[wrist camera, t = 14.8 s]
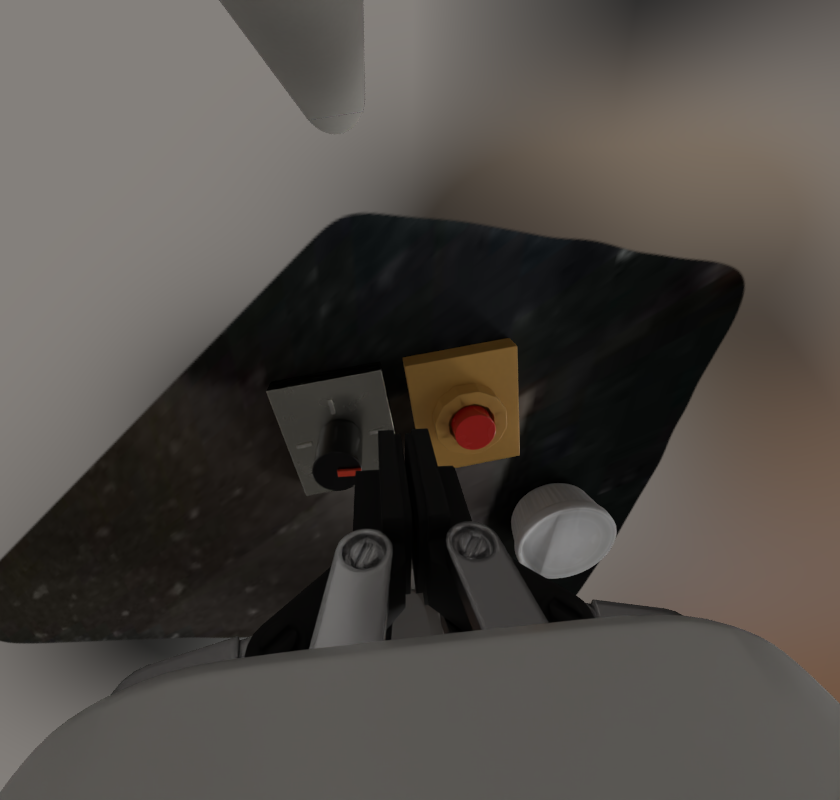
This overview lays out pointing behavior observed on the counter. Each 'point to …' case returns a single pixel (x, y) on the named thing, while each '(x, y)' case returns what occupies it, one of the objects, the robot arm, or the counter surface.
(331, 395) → the dial plate
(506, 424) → the knob block
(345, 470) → the dial
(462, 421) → the press knob
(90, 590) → the counter surface
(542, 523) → the ramekin
